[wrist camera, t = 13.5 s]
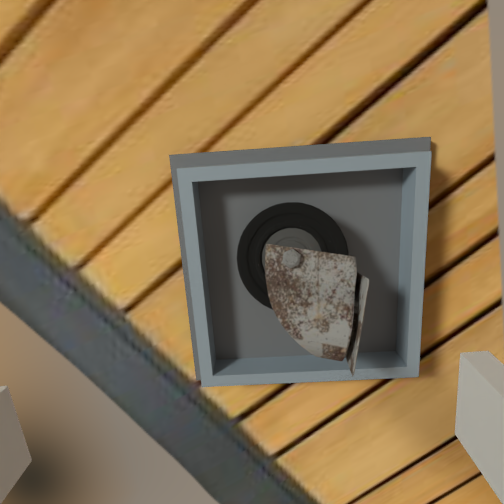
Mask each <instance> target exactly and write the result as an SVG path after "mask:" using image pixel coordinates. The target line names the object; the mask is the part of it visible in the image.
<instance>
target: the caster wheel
mask: <svg viewBox="0 0 504 504" xmlns="http://www.w3.org/2000/svg"><path fill="white" fill-rule="evenodd" d="M237 266H238V271H239V275H240V278H241V280H242V282H243V284H244V286H245V288H246V289H247V291H248V292H249V293H250V294H251V295H252V296H253V297H254V298H255V299H256V300H257V301H259V302H260V303H261V304H262V305H264V306H266V307H268V308H270V309H272V310H273V311H274V313H275V315H276V317H277V318H278V320H279V322H280V323H281V325H282V326H283V328H284V329H285V330H286V331H287V333H288V334H289V335H290V336H291V337H292V338H293V339H294V340H295V341H296V342H297V343H298V344H299V345H301V346H302V347H303V348H304V349H306V350H307V351H308V352H310V353H311V354H313V355H314V356H316V357H320V358H325V359H331V360H336V361H343V360H344V358H345V357H346V360H347V363H348V365H349V368H350V371H351V374H352V377H353V375H354V373H355V366H356V360H357V354H358V348H359V342H360V336H361V330H362V327H363V323H364V312H365V306H366V300H367V294H368V288H369V279H368V278H366V277H365V276H363V275H361V274H360V273H358V272H357V268H356V258H355V256H352V255H349V251H348V246H347V242H346V239H345V237H344V235H343V233H342V231H341V229H340V227H339V226H338V224H337V223H336V222H335V221H334V220H333V219H332V218H331V217H330V216H329V215H328V214H327V213H325V212H324V211H322V210H320V209H319V208H316V207H314V206H312V205H309V204H305V203H300V202H286V203H281V204H276V205H273V206H271V207H268V208H267V209H265V210H263V211H261V212H260V213H259V214H257V215H256V216H255V217H254V218H253V219H252V220H251V221H250V222H249V224H248V225H247V226H246V228H245V229H244V231H243V233H242V235H241V237H240V241H239V244H238V248H237Z"/></svg>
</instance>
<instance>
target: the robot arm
mask: <svg viewBox="0 0 504 504" xmlns="http://www.w3.org/2000/svg"><path fill="white" fill-rule="evenodd" d="M455 435H456V436H457V438H458V439H459V441H460V442H461V444H462V445H463V447H464V448H465V449H466V451H467V452H468V454H469V455H470V457H471V458H472V460H473V461H474V463H475V464H476V466H477V467H478V469H479V470H480V472H481V473H482V474H483V476H484V477H485V479H486V480H487V482H488V483H489V485H490V486H491V488H492V489H493V491H494V492H495V494H496V495H497V497H498V498H499V499H500V501H501V502H502V504H504V364H502V363H501V362H500V361H499V360H498V359H497V358H496V357H495V356H494V355H492V354H491V353H490V352H489V351H480V352H466V353H460V365H459V380H458V394H457V409H456V423H455ZM31 461H32V460H31V457H30V453H29V450H28V448H27V444H26V441H25V438H24V435H23V432H22V429H21V426H20V422H19V419H18V416H17V413H16V410H15V407H14V404H13V401H12V398H11V395H10V392H9V389H8V386H0V504H1V503H2V501H3V500H4V498H5V497H6V496H7V494H8V493H9V491H10V490H11V488H12V487H13V486H14V484H15V483H16V482H17V480H18V479H19V477H20V476H21V475H22V473H23V472H24V470H25V469H26V468H27V466H28V465H29V464H30V462H31Z"/></svg>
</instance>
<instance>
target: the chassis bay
mask: <svg viewBox="0 0 504 504" xmlns="http://www.w3.org/2000/svg"><path fill="white" fill-rule="evenodd" d="M430 144H431V137H421V138H406V139H392V140H378V141H363V142H349V143H335V144H320V145H306V146H292V147H277V148H263V149H248V150H234V151H220V152H205V153H191V154H177V155H169V157H170V165H171V174H172V182H173V190H174V198H175V207H176V215H177V223H178V232H179V240H180V248H181V256H182V265H183V273H184V281H185V290H186V298H187V306H188V314H189V323H190V331H191V339H192V347H193V356H194V364H195V372H196V380H201V382H202V387H212V386H234V385H256V384H277V383H299V382H321V381H343V380H365V379H387V378H408V377H419V362H420V345H421V328H422V310H423V293H424V275H425V258H426V240H427V223H428V205H429V188H430V171H431V153H432V151H430ZM286 202H300V203H305V204H309V205H312V206H314V207H316V208H319V209H320V210H322V211H324V212H325V213H327V214H328V215H329V216H330V217H331V218H332V219H333V220H334V221H335V222H336V223H337V224H338V226H339V227H340V229H341V231H342V233H343V235H344V237H345V239H346V242H347V246H348V251H349V255H352V256H355V258H356V268H357V272H358V273H360V274H361V275H363V276H365V277H366V278H368V279H369V288H368V294H367V300H366V306H365V312H364V323H363V327H362V330H361V336H360V342H359V348H358V354H357V360H356V366H355V373H354V375H353V377H352V374H351V371H350V368H349V365H348V363H347V360H346V357H345V358H344V360H343V361H336V360H331V359H325V358H320V357H316V356H314V355H313V354H311V353H310V352H308V351H307V350H306V349H304V348H303V347H302V346H301V345H299V344H298V343H297V342H296V341H295V340H294V339H293V338H292V337H291V336H290V335H289V334H288V333H287V331H286V330H285V329H284V328H283V326H282V325H281V323H280V322H279V320H278V318H277V317H276V315H275V313H274V311H273V310H272V309H270V308H268V307H266V306H264V305H262V304H261V303H260V302H259V301H257V300H256V299H255V298H254V297H253V296H252V295H251V294H250V293H249V292H248V291H247V289H246V288H245V286H244V284H243V282H242V280H241V278H240V275H239V271H238V266H237V248H238V244H239V241H240V237H241V235H242V233H243V231H244V229H245V228H246V226H247V225H248V224H249V222H250V221H251V220H252V219H253V218H254V217H255V216H256V215H257V214H259V213H260V212H261V211H263V210H265V209H267V208H268V207H271V206H273V205H276V204H281V203H286Z"/></svg>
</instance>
